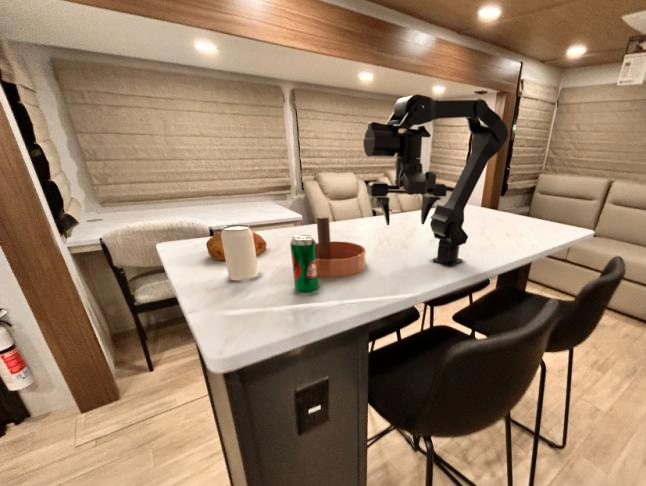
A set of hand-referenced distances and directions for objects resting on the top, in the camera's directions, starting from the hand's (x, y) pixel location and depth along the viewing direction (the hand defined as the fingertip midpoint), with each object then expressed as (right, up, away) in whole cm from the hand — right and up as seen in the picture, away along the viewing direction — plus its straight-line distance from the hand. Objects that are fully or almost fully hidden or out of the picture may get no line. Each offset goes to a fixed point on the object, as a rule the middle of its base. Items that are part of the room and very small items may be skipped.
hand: (405, 224), depth 78 cm
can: (-39, -14, -4) cm, 41 cm away
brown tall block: (-21, -11, +2) cm, 23 cm away
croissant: (-48, -6, +11) cm, 50 cm away
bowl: (-19, -11, +3) cm, 22 cm away
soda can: (-22, -17, -10) cm, 29 cm away
